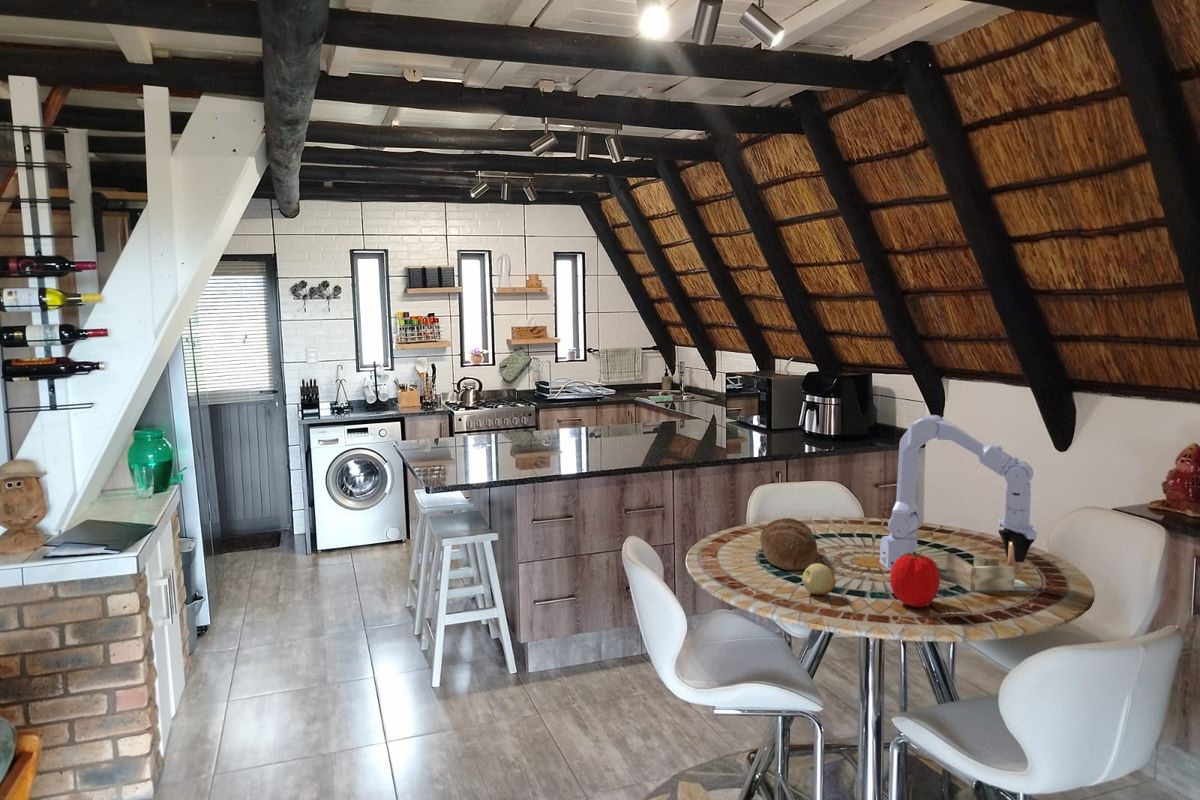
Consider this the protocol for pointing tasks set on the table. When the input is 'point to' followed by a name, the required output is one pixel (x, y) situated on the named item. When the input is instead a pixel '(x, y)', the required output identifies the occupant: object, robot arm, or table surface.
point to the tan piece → (981, 573)
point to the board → (995, 590)
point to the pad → (1020, 584)
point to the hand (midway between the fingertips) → (1015, 559)
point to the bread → (789, 544)
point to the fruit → (818, 579)
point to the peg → (1011, 559)
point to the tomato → (914, 579)
